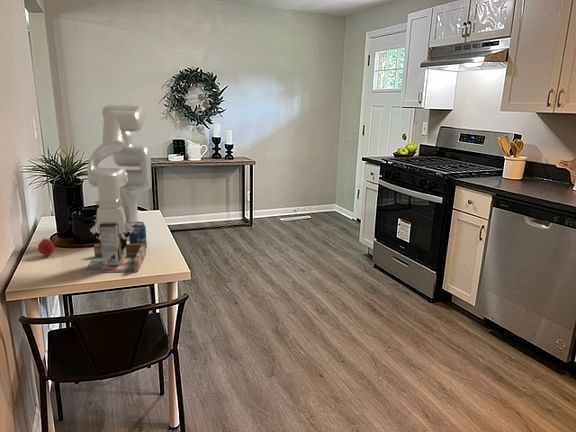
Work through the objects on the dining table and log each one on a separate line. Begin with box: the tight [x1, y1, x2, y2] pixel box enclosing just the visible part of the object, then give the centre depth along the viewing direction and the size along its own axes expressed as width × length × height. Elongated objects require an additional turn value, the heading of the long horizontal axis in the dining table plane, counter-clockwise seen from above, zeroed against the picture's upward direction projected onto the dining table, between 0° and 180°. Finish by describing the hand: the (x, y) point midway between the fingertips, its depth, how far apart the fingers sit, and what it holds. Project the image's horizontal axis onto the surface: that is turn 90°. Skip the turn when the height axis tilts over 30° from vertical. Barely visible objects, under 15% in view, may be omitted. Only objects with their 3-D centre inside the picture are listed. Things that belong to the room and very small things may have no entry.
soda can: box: [128, 221, 148, 249], centre depth 182 cm, size 7×7×12 cm
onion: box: [37, 237, 55, 258], centre depth 172 cm, size 6×6×8 cm
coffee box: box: [99, 224, 127, 265], centre depth 165 cm, size 9×6×16 cm
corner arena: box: [81, 243, 147, 275], centre depth 168 cm, size 18×20×5 cm
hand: (114, 247), depth 166 cm, fingers closed on coffee box, 6 cm apart
